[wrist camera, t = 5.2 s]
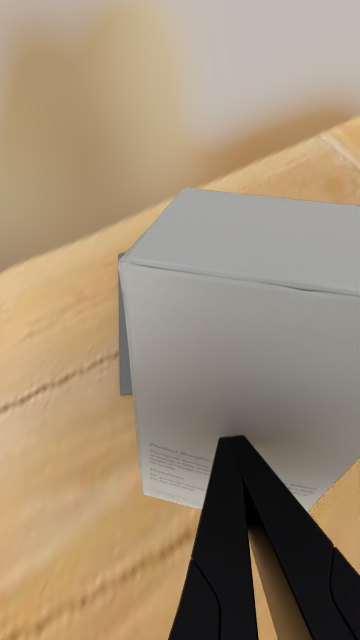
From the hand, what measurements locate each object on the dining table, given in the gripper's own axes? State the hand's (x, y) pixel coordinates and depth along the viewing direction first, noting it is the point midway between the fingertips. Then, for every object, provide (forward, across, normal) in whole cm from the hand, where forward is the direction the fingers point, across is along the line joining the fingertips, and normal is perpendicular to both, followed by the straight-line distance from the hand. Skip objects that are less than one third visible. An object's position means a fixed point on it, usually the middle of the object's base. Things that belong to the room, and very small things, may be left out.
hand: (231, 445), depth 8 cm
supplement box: (+5, 0, +6) cm, 8 cm away
